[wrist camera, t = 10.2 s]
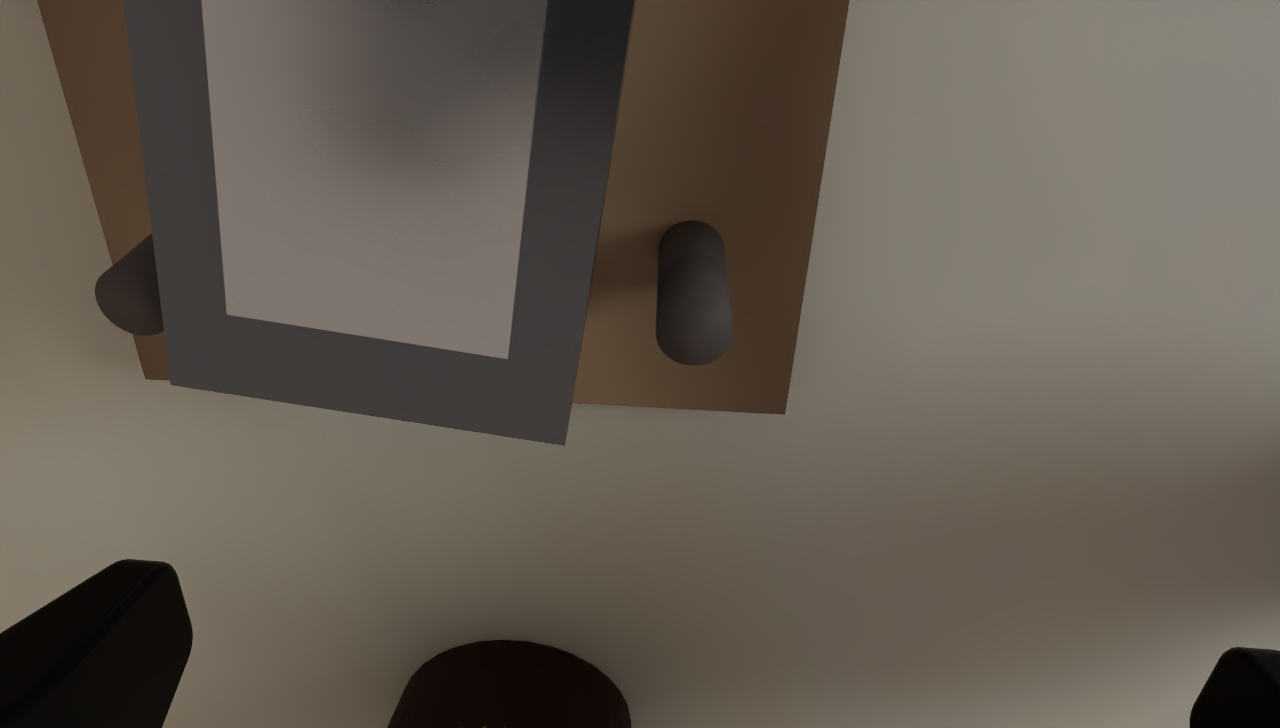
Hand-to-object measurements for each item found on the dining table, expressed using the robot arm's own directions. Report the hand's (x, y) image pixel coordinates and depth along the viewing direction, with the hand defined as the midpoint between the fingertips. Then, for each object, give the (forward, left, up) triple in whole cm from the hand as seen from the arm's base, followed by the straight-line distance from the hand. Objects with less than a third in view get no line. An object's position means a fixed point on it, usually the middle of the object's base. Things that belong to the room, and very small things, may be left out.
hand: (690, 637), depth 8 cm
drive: (+4, -3, -10) cm, 11 cm away
